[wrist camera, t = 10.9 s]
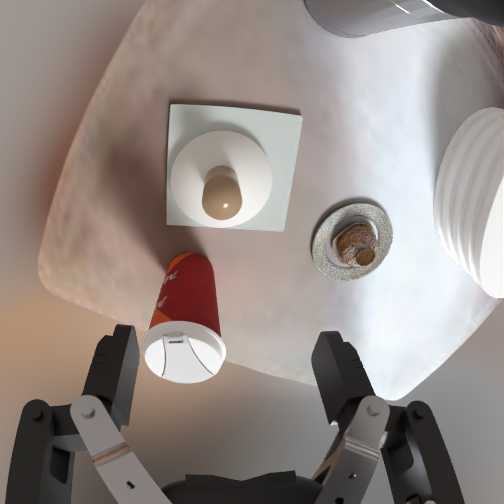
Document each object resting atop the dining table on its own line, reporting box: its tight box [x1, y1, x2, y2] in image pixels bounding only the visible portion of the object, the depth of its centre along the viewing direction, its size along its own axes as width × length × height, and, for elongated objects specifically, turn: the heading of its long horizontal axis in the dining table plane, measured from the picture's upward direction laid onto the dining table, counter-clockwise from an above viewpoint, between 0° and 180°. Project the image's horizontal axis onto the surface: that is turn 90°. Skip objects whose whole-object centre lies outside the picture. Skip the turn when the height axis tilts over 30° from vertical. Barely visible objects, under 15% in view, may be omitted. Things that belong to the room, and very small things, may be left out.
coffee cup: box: [141, 253, 226, 383], centre depth 32 cm, size 8×8×15 cm
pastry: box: [312, 203, 393, 282], centre depth 38 cm, size 12×12×5 cm
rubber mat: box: [167, 104, 303, 232], centre depth 32 cm, size 14×14×1 cm
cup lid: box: [170, 130, 272, 228], centre depth 29 cm, size 11×11×7 cm
